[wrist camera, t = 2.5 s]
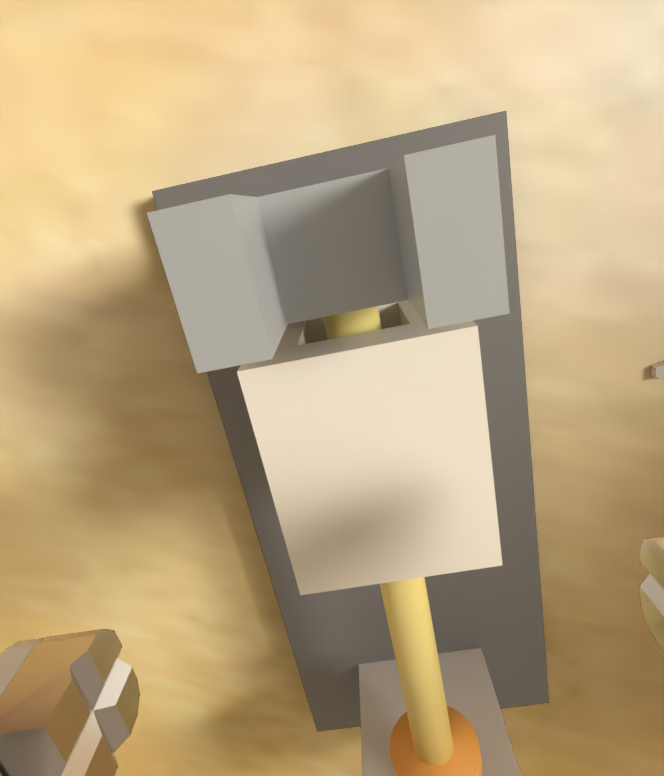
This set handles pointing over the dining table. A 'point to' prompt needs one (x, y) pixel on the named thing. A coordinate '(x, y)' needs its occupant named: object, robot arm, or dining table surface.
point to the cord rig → (359, 315)
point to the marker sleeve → (377, 450)
